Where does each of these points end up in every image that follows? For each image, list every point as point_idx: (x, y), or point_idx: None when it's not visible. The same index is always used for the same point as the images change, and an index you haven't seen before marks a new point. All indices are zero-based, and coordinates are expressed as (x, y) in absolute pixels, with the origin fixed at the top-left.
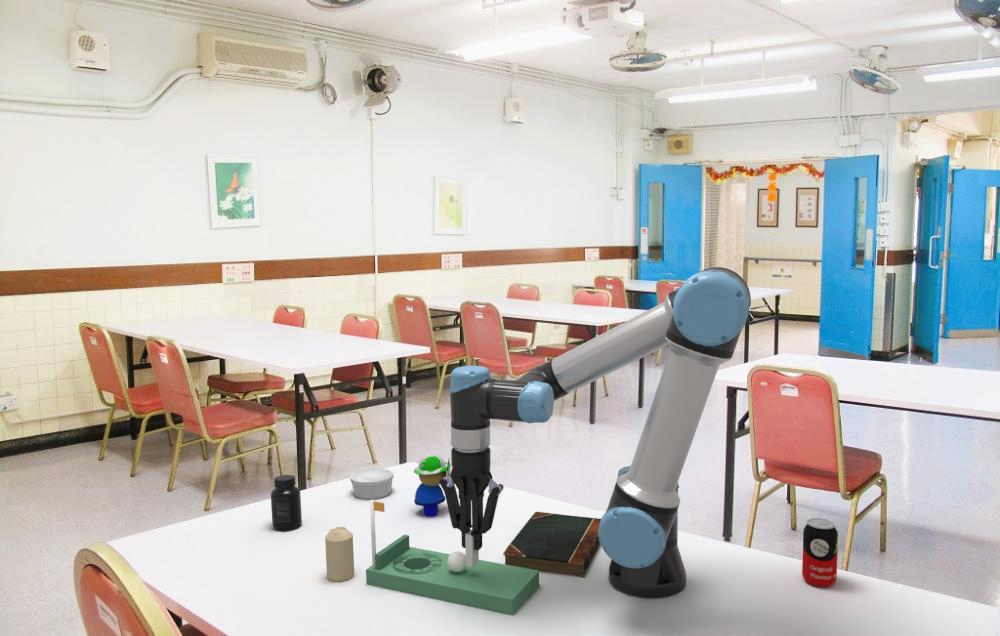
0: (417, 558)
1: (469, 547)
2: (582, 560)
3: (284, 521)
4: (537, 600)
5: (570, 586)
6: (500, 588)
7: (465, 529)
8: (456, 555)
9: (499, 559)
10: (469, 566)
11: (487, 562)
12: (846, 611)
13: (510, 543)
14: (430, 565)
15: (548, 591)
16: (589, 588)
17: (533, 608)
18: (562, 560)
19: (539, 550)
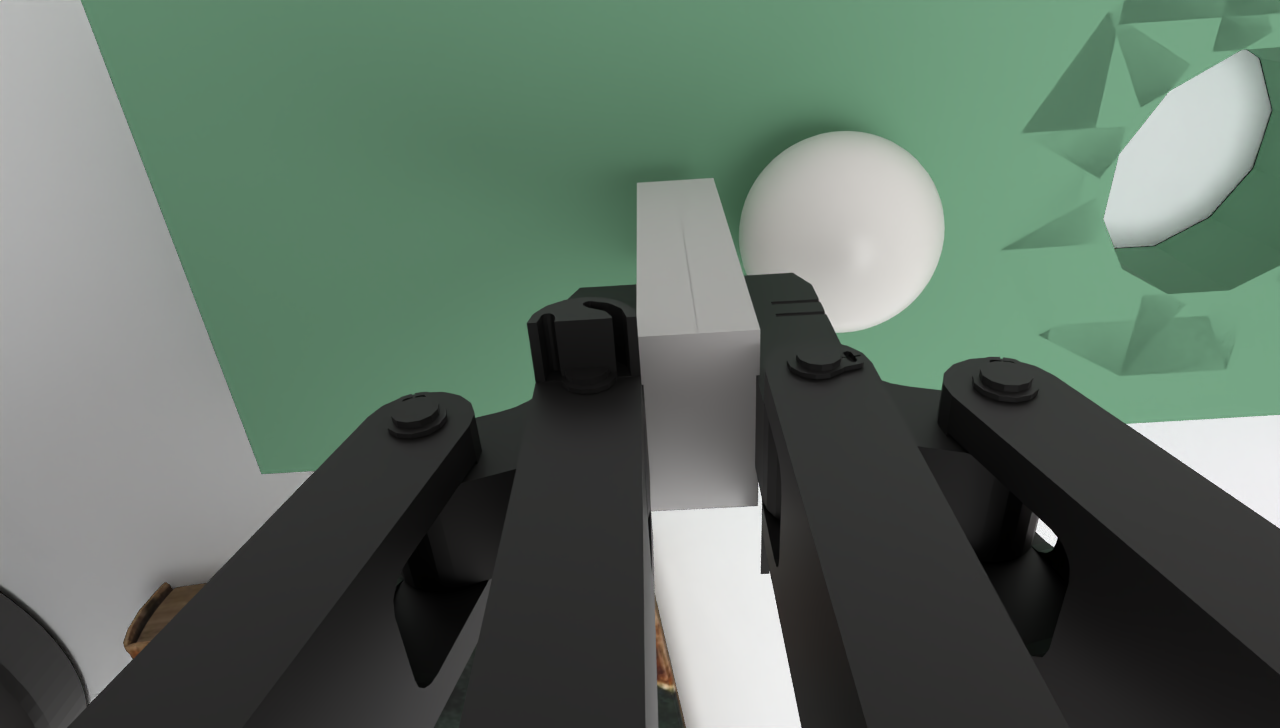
0: (1257, 271)
1: (678, 257)
2: None
3: None
4: (167, 232)
5: (142, 475)
6: (298, 81)
7: (772, 377)
8: (847, 217)
9: (713, 578)
10: (671, 182)
11: None
12: None
13: (673, 694)
14: (1099, 196)
15: (201, 370)
16: (37, 497)
17: (100, 111)
18: None
19: (455, 686)
